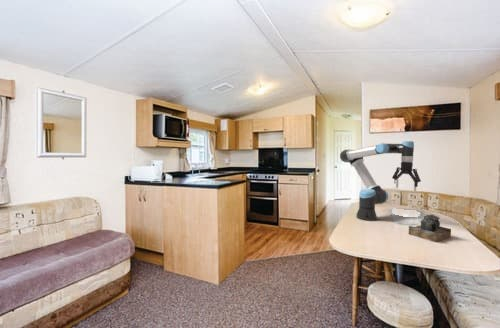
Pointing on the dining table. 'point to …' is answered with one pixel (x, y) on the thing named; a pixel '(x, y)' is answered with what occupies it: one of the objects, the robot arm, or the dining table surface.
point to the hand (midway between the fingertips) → (405, 189)
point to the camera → (430, 222)
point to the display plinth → (430, 233)
